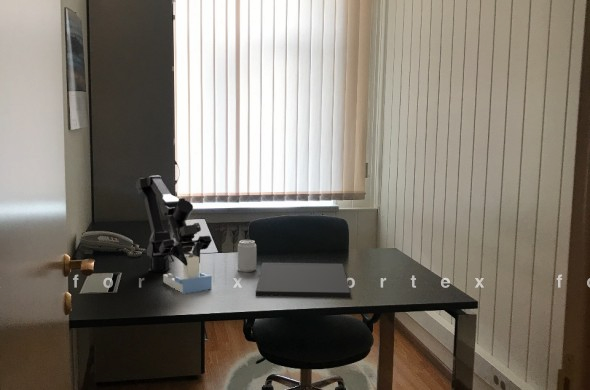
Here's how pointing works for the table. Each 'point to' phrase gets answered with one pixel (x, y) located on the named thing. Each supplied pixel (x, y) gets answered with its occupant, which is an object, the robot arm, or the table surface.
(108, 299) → the table surface
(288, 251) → the table surface
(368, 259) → the table surface
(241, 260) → the can
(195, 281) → the sled frame
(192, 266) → the beige drawer with knob
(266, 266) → the thin dark grey tray
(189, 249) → the sunglasses
